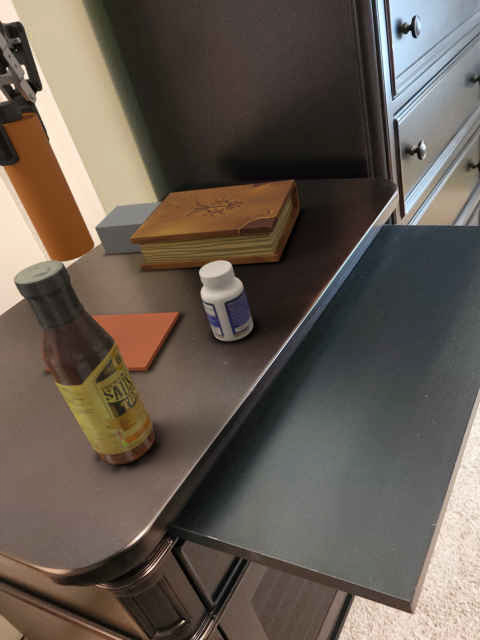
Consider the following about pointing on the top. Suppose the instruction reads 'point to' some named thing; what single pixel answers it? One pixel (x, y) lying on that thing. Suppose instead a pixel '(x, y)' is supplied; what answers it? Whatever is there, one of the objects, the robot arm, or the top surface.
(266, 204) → the diary
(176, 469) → the top surface
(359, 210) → the top surface
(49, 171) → the amber bottle
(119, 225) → the grey stand
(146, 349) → the mat
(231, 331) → the pill bottle
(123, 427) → the sauce bottle
